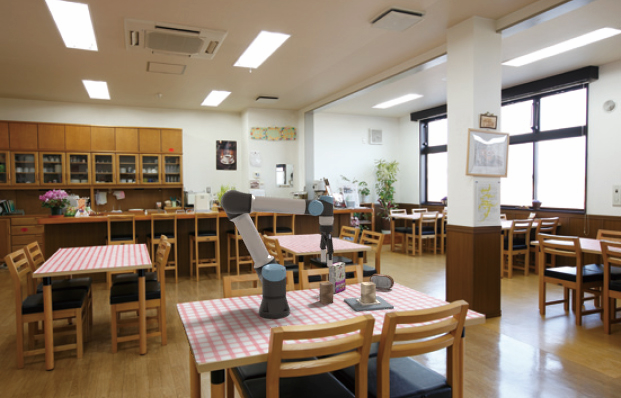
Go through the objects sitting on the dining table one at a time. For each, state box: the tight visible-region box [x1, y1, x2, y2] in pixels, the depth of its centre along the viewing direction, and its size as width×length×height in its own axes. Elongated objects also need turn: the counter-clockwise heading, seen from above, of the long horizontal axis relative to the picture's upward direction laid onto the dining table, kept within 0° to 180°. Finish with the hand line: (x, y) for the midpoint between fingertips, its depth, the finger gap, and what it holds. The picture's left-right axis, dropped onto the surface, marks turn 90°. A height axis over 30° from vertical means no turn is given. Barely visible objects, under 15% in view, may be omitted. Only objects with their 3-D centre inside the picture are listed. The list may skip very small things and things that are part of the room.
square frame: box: [356, 299, 381, 306], centre depth 213 cm, size 10×10×1 cm
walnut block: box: [319, 281, 334, 305], centre depth 219 cm, size 6×6×10 cm
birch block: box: [360, 281, 377, 303], centre depth 213 cm, size 6×6×10 cm
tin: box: [369, 273, 395, 290], centre depth 247 cm, size 15×3×8 cm, turn 58°
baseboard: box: [343, 295, 395, 312], centre depth 213 cm, size 20×20×1 cm
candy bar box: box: [328, 261, 347, 294], centre depth 241 cm, size 11×5×16 cm, turn 143°
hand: (326, 263), depth 218 cm, fingers open, 13 cm apart
